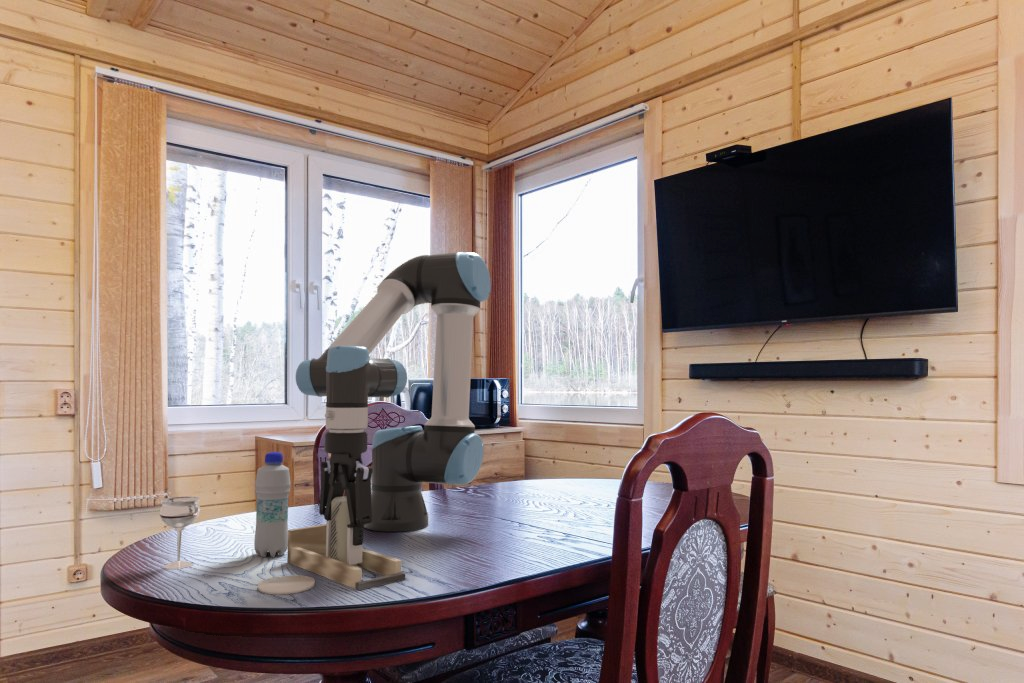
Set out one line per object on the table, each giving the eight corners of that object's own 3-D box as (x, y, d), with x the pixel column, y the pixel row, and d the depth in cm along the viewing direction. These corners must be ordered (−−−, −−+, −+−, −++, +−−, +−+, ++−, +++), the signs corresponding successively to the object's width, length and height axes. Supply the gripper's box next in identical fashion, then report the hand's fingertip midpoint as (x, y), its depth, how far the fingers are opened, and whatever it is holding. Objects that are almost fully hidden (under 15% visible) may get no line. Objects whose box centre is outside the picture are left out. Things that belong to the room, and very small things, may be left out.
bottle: (296, 552, 139) (298, 450, 140) (274, 560, 133) (277, 454, 134) (268, 549, 141) (270, 449, 142) (245, 557, 135) (248, 452, 136)
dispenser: (287, 562, 131) (288, 529, 131) (331, 554, 138) (331, 523, 138) (359, 590, 114) (359, 552, 114) (405, 579, 120) (405, 543, 121)
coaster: (248, 586, 116) (248, 582, 116) (298, 575, 122) (298, 572, 122) (273, 598, 109) (273, 594, 110) (325, 586, 116) (325, 582, 116)
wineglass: (201, 567, 127) (203, 500, 128) (159, 572, 124) (162, 503, 125) (195, 558, 133) (197, 495, 134) (155, 563, 130) (158, 498, 130)
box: (333, 566, 128) (335, 495, 129) (358, 566, 129) (359, 495, 129) (328, 574, 123) (330, 500, 124) (354, 574, 123) (355, 500, 124)
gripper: (301, 428, 131) (298, 553, 130) (357, 434, 118) (355, 574, 116) (336, 427, 137) (334, 547, 135) (394, 432, 123) (392, 566, 122)
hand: (343, 559), depth 126 cm, fingers closed on box, 6 cm apart
